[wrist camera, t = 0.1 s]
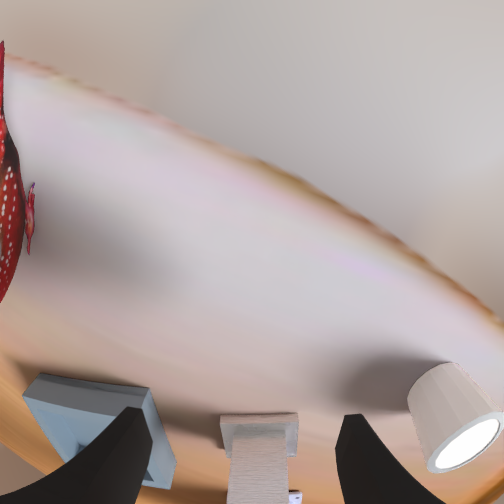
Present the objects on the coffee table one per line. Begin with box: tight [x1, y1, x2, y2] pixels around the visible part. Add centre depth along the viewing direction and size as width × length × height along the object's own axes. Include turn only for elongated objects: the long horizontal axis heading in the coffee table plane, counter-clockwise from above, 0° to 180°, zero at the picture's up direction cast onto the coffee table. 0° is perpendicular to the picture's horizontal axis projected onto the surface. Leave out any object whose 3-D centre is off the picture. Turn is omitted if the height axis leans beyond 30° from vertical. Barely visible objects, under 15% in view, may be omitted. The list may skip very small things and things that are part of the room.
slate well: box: [22, 373, 177, 489], centre depth 22 cm, size 10×11×4 cm
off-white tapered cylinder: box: [407, 362, 504, 473], centre depth 18 cm, size 7×7×7 cm
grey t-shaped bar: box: [220, 413, 299, 504], centre depth 20 cm, size 5×6×8 cm
